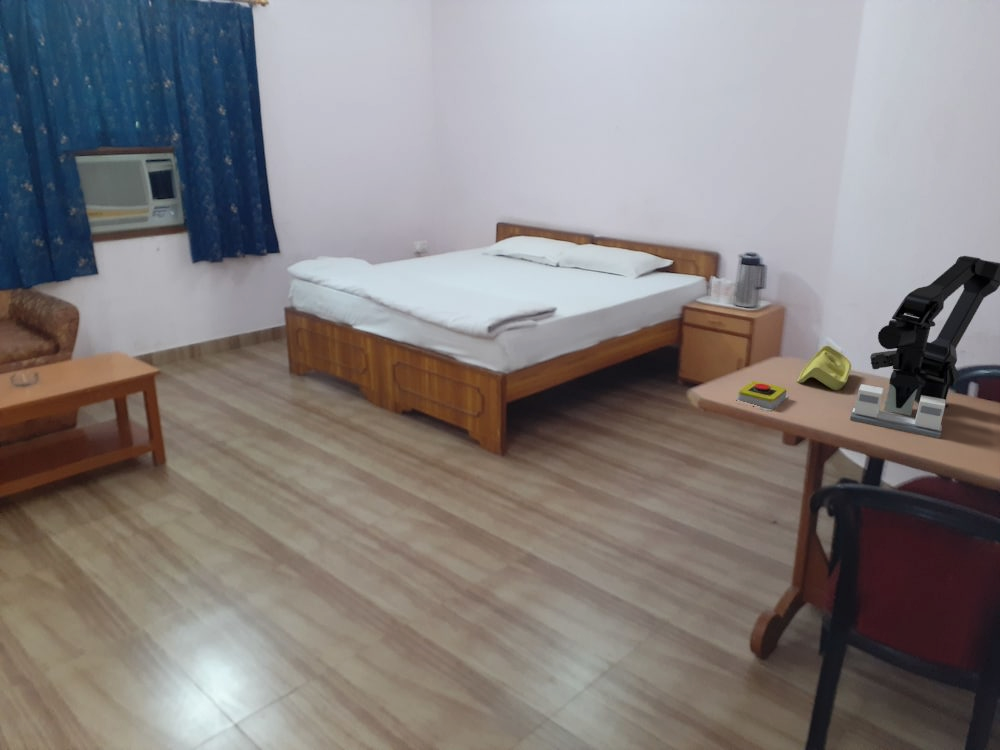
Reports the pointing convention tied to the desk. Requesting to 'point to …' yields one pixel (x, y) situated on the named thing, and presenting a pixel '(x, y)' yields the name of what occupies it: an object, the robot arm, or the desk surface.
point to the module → (891, 402)
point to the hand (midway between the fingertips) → (899, 404)
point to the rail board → (922, 424)
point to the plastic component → (827, 368)
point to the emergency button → (762, 395)
